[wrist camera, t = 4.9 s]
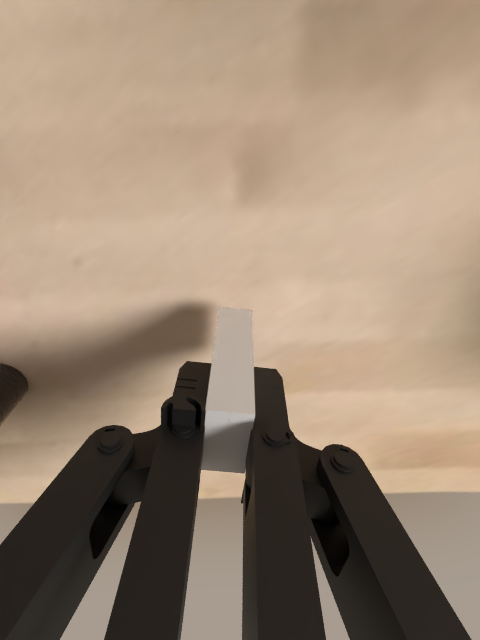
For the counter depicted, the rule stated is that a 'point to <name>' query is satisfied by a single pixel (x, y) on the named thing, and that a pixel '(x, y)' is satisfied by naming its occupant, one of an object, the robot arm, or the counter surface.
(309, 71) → the counter surface
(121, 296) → the counter surface
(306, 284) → the counter surface
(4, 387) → the post
